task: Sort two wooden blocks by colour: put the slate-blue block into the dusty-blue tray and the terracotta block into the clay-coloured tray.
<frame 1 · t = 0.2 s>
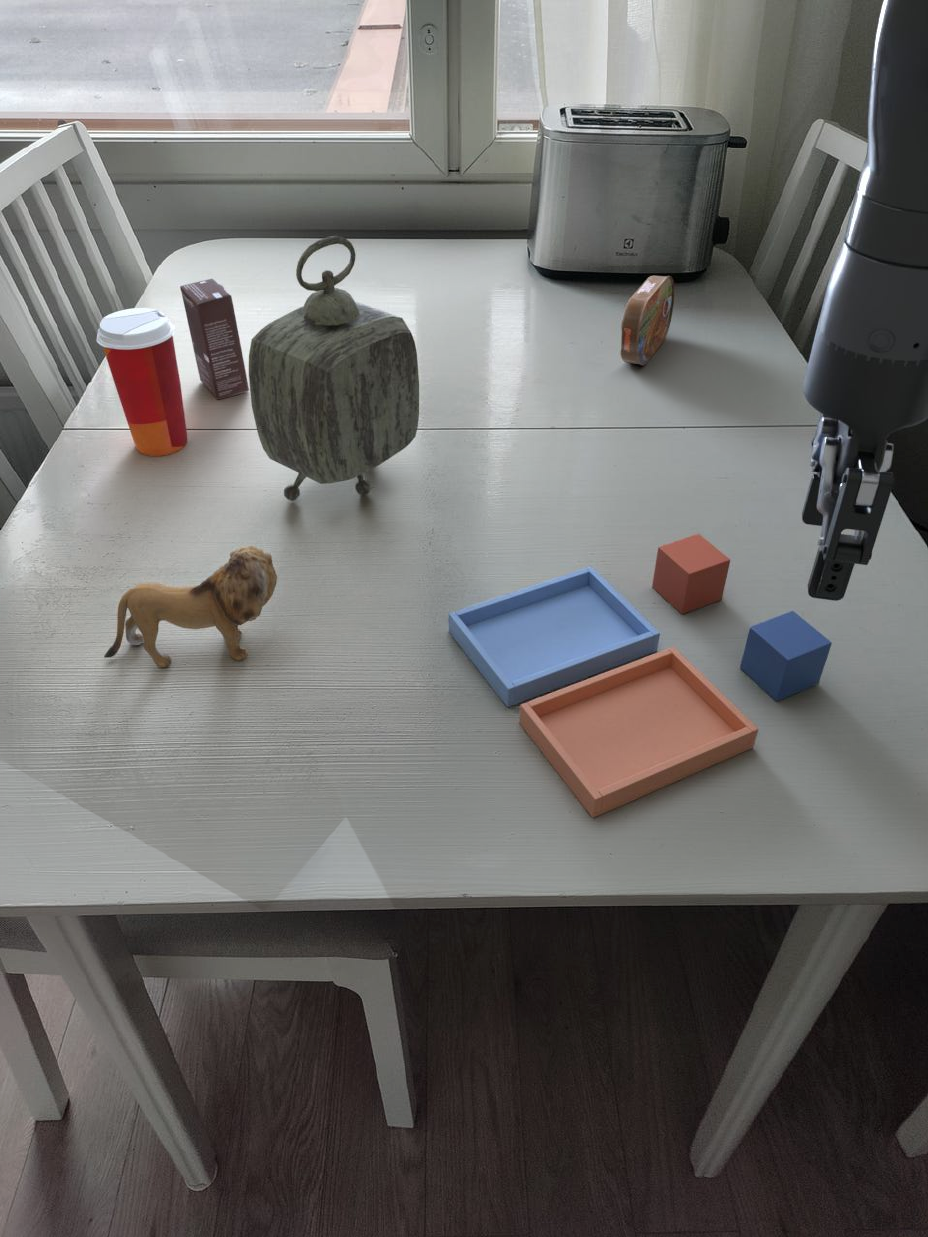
hand: (820, 557, 65), 15 cm above the table, tool pointing down, fingers open, 8 cm apart
tabletop clock: (349, 489, 99), on the table
blue block: (778, 675, 77), on the table
terracotta block: (686, 593, 85), on the table
paper cup: (161, 444, 106), on the table
lion figurine: (204, 646, 80), on the table
blue tray: (551, 641, 80), on the table
tin: (643, 351, 123), on the table
box: (224, 388, 116), on the table
clay tray: (634, 735, 72), on the table
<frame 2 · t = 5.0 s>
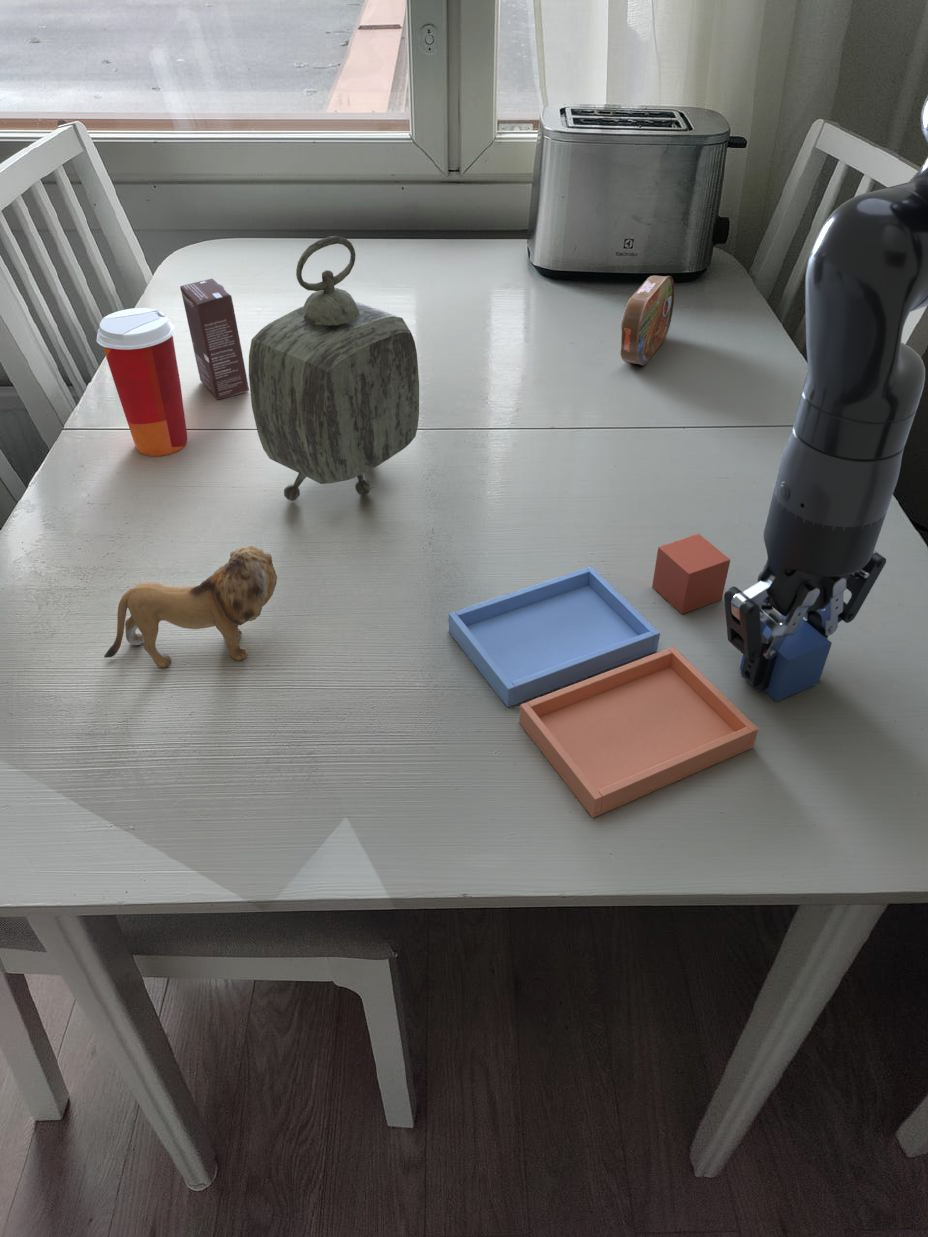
hand: (779, 672, 77), 0 cm above the table, tool pointing down, fingers closed on blue block, 4 cm apart
blue block: (778, 675, 77), on the table, touching gripper
everything else where it was.
when the fingers open (1 cm above the table, at t = 11.6 s): blue block stays where it is, resting on blue tray.
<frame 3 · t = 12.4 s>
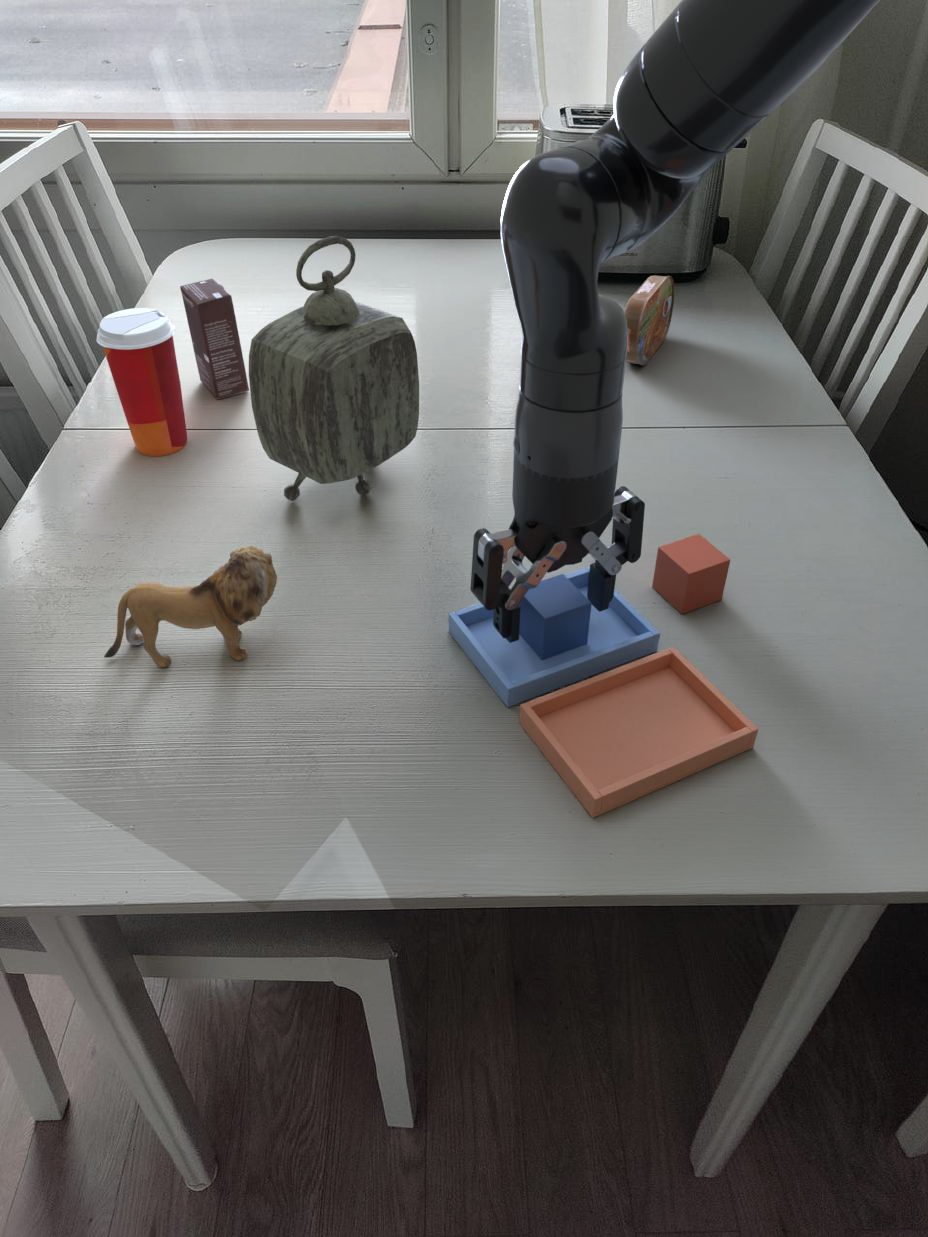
hand: (553, 620, 79), 2 cm above the table, tool pointing down, fingers open, 8 cm apart
blue block: (551, 636, 80), resting on blue tray
everything else where it was.
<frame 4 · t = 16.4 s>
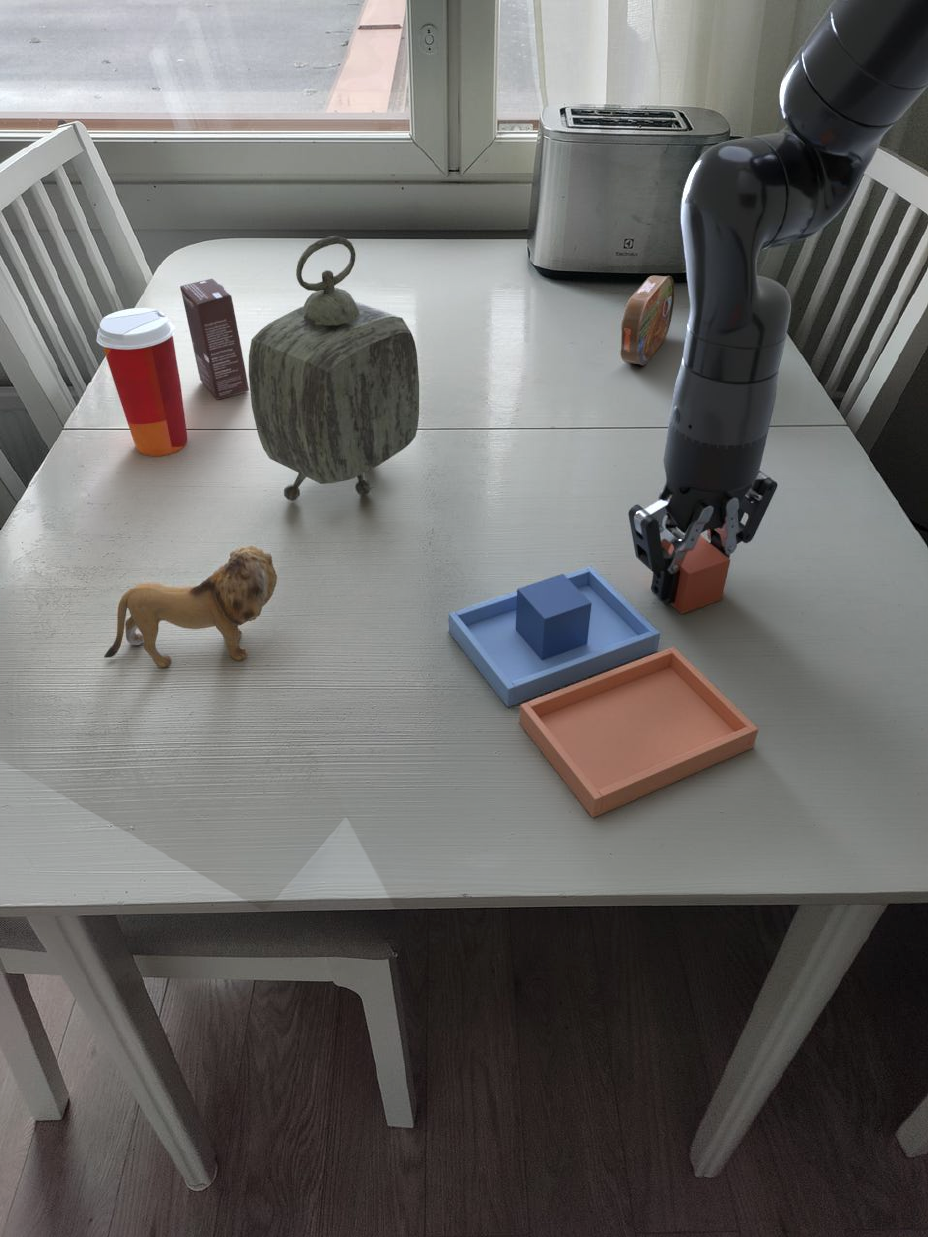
hand: (687, 590, 85), 0 cm above the table, tool pointing down, fingers closed on terracotta block, 4 cm apart
terracotta block: (686, 593, 85), on the table, touching gripper
everything else where it was.
when the fingers open (1 cm above the table, at t = 23.1 s): terracotta block stays where it is, resting on clay tray.
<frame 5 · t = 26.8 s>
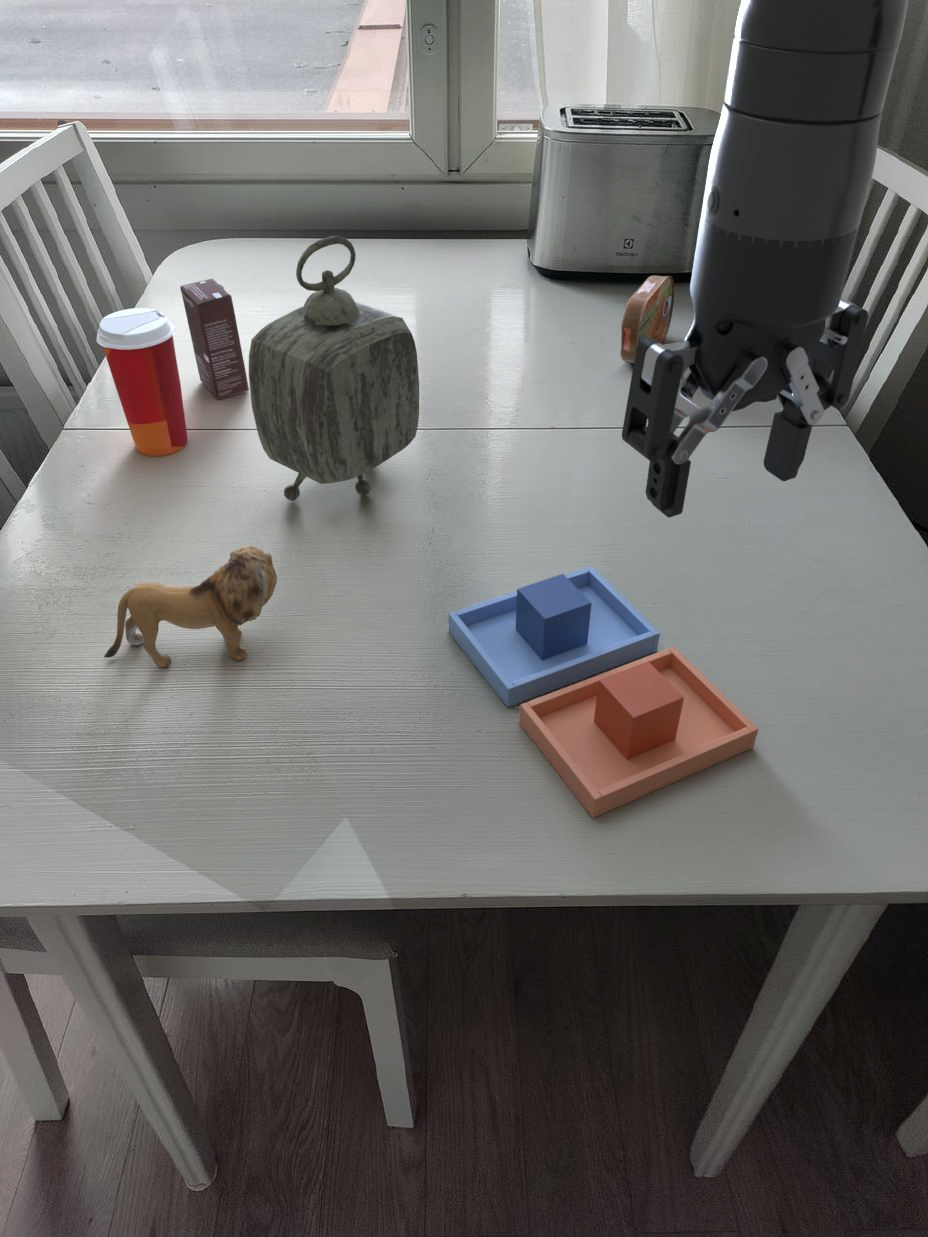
hand: (723, 491, 57), 22 cm above the table, tool pointing down, fingers open, 8 cm apart
terracotta block: (634, 730, 72), resting on clay tray
everything else where it was.
at the end: blue block inside the target area in the blue tray (0.1 cm from its centre), point 0.5 cm above the blue tray's base; terracotta block inside the target area in the clay tray (0.1 cm from its centre), point 0.5 cm above the clay tray's base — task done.
